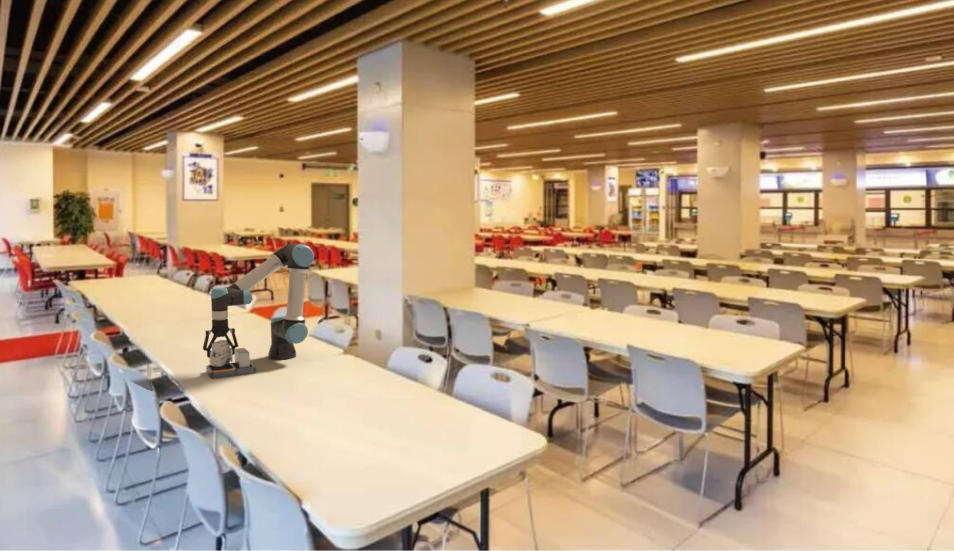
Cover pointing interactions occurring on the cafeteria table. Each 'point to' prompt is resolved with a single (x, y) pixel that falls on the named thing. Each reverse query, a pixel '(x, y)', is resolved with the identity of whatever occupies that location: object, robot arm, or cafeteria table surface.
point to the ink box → (220, 353)
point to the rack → (233, 366)
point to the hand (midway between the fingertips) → (221, 362)
